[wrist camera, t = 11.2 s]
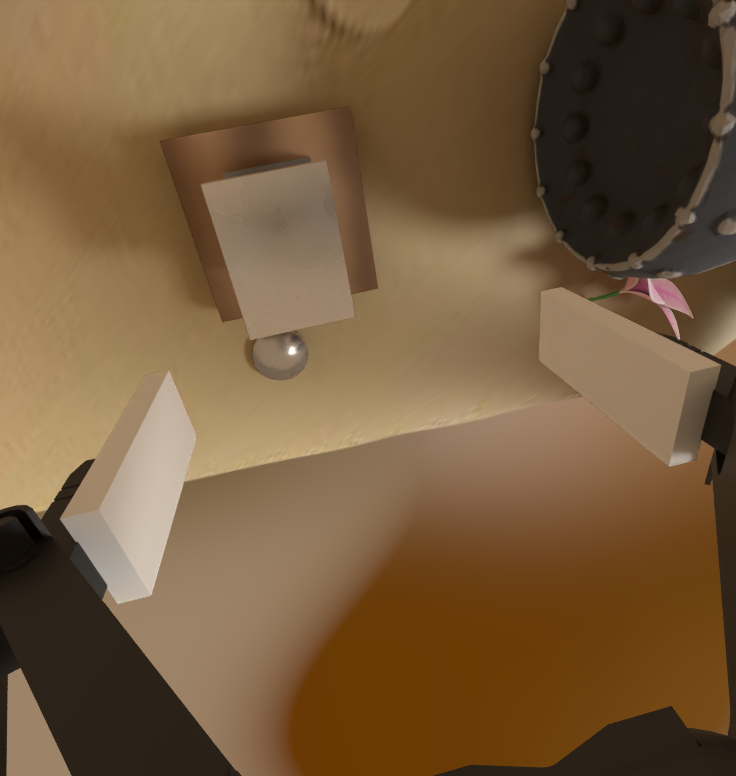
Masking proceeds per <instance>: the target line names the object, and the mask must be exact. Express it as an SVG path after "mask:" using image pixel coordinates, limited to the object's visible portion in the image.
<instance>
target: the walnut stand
mask: <svg viewBox="0 0 736 776" xmlns="http://www.w3.org/2000/svg"><path fill="white" fill-rule="evenodd" d="M160 143H161V146H162V149H163V152H164V155H165V158H166V160H167V163H168V166H169V169H170V172H171V175H172V178H173V181H174V184H175V187H176V189H177V192H178V195H179V198H180V201H181V204H182V207H183V210H184V213H185V216H186V218H187V221H188V224H189V227H190V230H191V233H192V236H193V239H194V242H195V245H196V248H197V250H198V253H199V256H200V259H201V262H202V265H203V268H204V271H205V274H206V277H207V279H208V282H209V285H210V288H211V291H212V294H213V297H214V300H215V303H216V306H217V308H218V311H219V314H220V317H221V320H222V322H226V321H230V320H235V319H239V318H243V316H242V313H241V310H240V306H239V303H238V300H237V297H236V294H235V291H234V288H233V284H232V281H231V278H230V275H229V272H228V269H227V266H226V262H225V259H224V256H223V253H222V250H221V247H220V244H219V241H218V237H217V234H216V231H215V228H214V225H213V222H212V219H211V215H210V212H209V209H208V206H207V203H206V200H205V197H204V193H203V190H202V187H201V184H203V183H205V182H211V181H216V180H221V179H224V177H223V173H224V172H229V171H234V170H240V169H245V168H250V167H255V166H261V165H266V164H271V163H277V162H282V161H287V160H292V159H298V158H303V157H308V156H309V157H311V162H316V161H321V160H325V161H327V167H328V172H329V178H330V183H331V188H332V194H333V199H334V205H335V210H336V215H337V221H338V226H339V231H340V237H341V242H342V248H343V253H344V258H345V264H346V269H347V275H348V280H349V285H350V291H351V294H355V293H359V292H364V291H368V290H373V289H378V285H377V278H376V272H375V265H374V259H373V252H372V246H371V239H370V233H369V226H368V220H367V213H366V207H365V200H364V194H363V187H362V181H361V174H360V168H359V161H358V155H357V148H356V141H355V135H354V128H353V122H352V115H351V109H350V106H349V107H344V108H338V109H332V110H327V111H321V112H316V113H310V114H305V115H299V116H294V117H288V118H283V119H277V120H272V121H266V122H261V123H255V124H250V125H244V126H238V127H233V128H227V129H222V130H216V131H211V132H205V133H200V134H194V135H189V136H183V137H178V138H172V139H167V140H161V141H160Z"/></svg>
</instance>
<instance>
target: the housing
mask: <svg viewBox="0 0 736 776" xmlns="http://www.w3.org/2000/svg"><path fill="white" fill-rule="evenodd" d="M223 177H224V179H221V180H216V181H211V182H205V183H203V184H201V187H202V190H203V193H204V197H205V200H206V203H207V206H208V209H209V212H210V215H211V219H212V222H213V225H214V228H215V231H216V234H217V237H218V241H219V244H220V247H221V250H222V253H223V256H224V259H225V262H226V266H227V269H228V272H229V275H230V278H231V281H232V284H233V288H234V291H235V294H236V297H237V300H238V303H239V306H240V310H241V313H242V316H243V319H244V322H245V325H246V328H247V332H248V335H249V338H250V340H254V339H258V338H263V337H267V336H272V335H276V334H281V333H285V332H290V331H294V330H299V329H303V328H308V327H312V326H317V325H322V324H326V323H331V322H335V321H340V320H344V319H349V318H353V317H355V312H354V307H353V302H352V296H351V291H350V285H349V280H348V275H347V269H346V264H345V258H344V253H343V248H342V242H341V237H340V231H339V226H338V221H337V215H336V210H335V205H334V199H333V194H332V188H331V183H330V178H329V172H328V167H327V161H325V160H321V161H316V162H311V157H309V156H308V157H303V158H298V159H292V160H287V161H282V162H277V163H271V164H266V165H261V166H255V167H250V168H245V169H240V170H234V171H229V172H224V173H223Z"/></svg>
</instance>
